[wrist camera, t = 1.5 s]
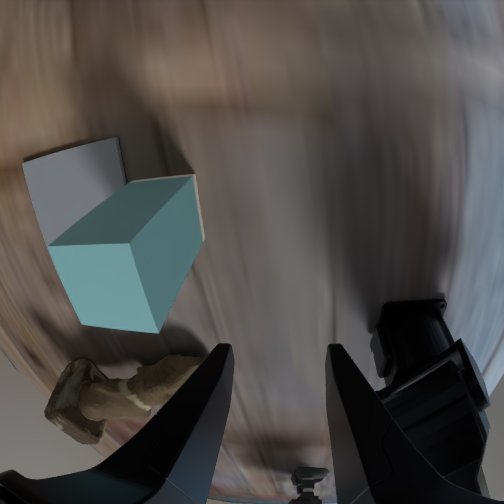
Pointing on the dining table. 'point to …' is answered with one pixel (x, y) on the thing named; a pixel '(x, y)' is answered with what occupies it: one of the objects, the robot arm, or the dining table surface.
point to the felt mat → (73, 184)
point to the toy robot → (307, 484)
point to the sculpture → (112, 395)
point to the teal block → (131, 253)
